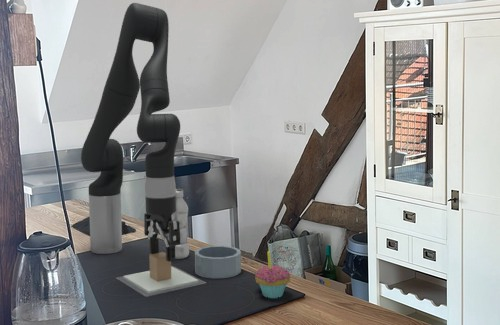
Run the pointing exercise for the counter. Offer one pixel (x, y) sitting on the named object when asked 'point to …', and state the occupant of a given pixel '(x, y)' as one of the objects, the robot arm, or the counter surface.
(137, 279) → the lid
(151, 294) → the mat
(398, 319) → the counter surface
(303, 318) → the counter surface
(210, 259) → the bowl
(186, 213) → the plastic bottle
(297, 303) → the counter surface
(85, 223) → the dark slate chunk
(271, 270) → the cupcake
